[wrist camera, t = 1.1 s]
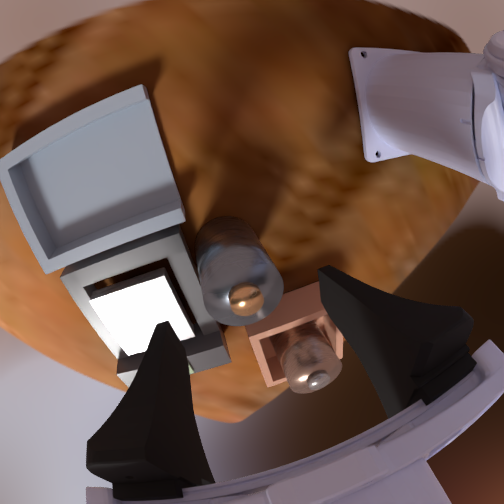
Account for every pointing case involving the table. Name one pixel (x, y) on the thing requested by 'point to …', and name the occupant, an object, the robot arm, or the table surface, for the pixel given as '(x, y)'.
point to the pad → (141, 309)
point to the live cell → (236, 273)
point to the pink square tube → (286, 317)
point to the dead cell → (306, 357)
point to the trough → (92, 181)
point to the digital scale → (136, 255)
